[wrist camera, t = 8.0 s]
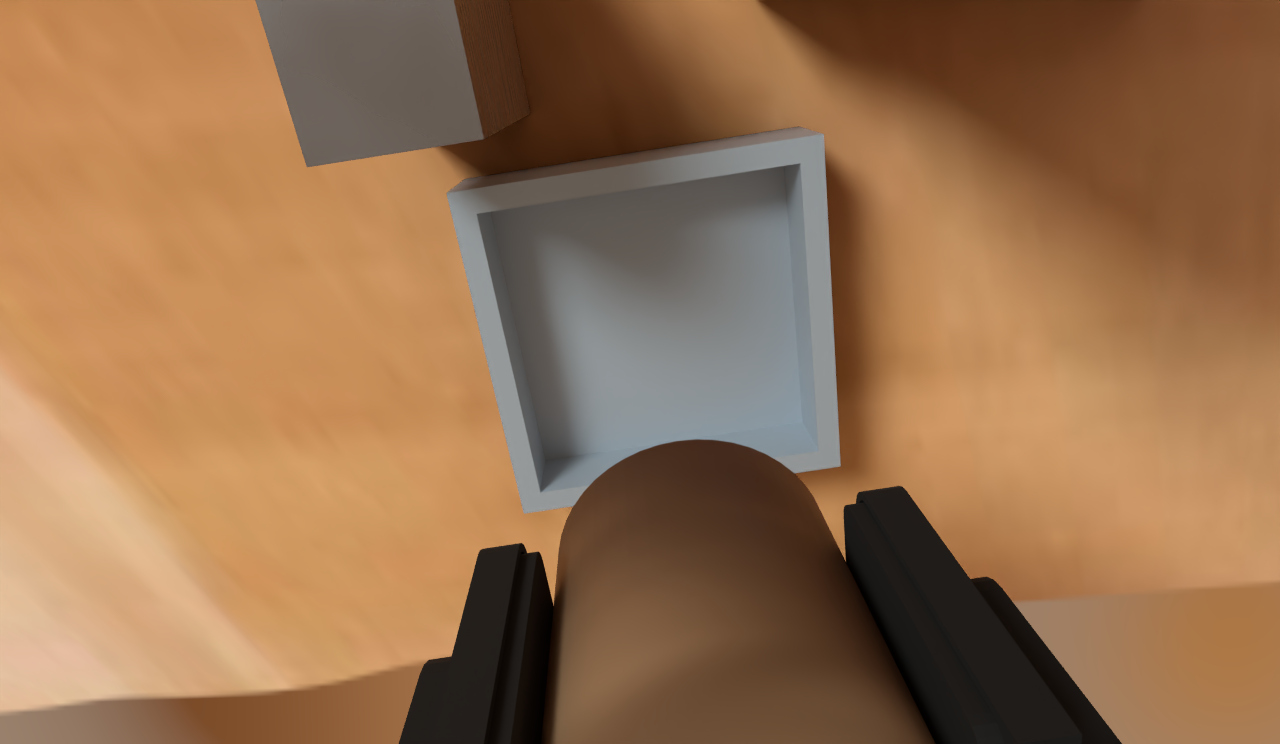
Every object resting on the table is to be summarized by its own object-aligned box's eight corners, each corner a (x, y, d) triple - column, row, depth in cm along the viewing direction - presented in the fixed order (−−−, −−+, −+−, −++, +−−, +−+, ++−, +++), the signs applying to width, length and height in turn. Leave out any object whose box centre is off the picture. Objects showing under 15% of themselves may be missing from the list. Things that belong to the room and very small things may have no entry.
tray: (798, 126, 20) (823, 134, 18) (817, 427, 24) (840, 466, 21) (465, 179, 20) (446, 193, 18) (532, 470, 24) (523, 513, 22)
